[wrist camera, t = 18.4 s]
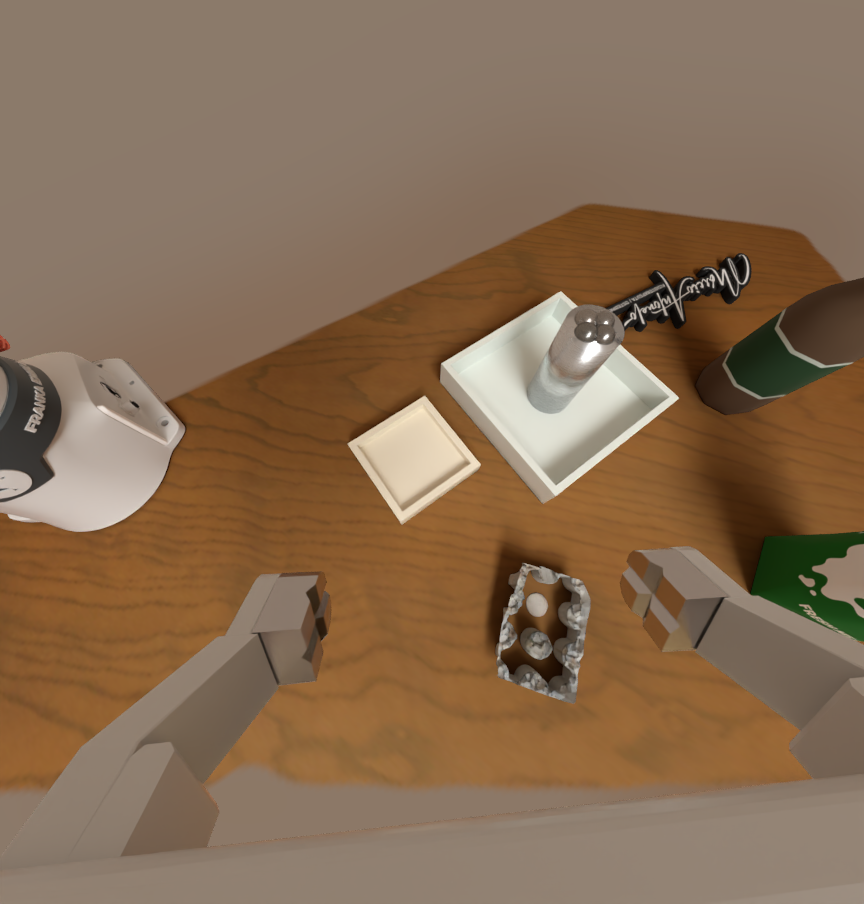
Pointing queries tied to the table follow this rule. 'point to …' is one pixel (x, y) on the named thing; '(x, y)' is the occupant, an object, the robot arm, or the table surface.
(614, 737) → the table surface
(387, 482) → the tray
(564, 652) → the egg carton
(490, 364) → the bin
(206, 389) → the table surface
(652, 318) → the nameplate
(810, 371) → the beer bottle
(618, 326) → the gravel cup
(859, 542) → the milk carton
